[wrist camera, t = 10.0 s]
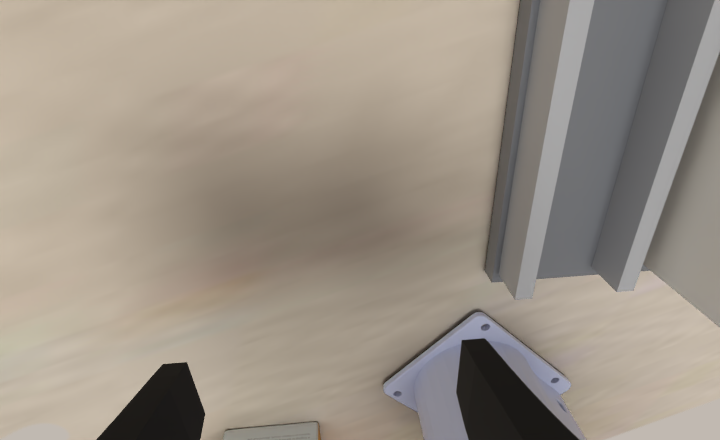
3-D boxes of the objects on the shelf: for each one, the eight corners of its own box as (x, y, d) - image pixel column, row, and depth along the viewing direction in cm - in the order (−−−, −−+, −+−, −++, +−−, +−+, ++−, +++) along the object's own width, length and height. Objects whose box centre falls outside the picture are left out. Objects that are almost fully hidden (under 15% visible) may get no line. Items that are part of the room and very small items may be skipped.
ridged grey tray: (684, 255, 21) (734, 290, 19) (484, 270, 21) (507, 308, 18) (829, -91, 14) (943, -114, 12) (530, -79, 14) (577, -99, 11)
